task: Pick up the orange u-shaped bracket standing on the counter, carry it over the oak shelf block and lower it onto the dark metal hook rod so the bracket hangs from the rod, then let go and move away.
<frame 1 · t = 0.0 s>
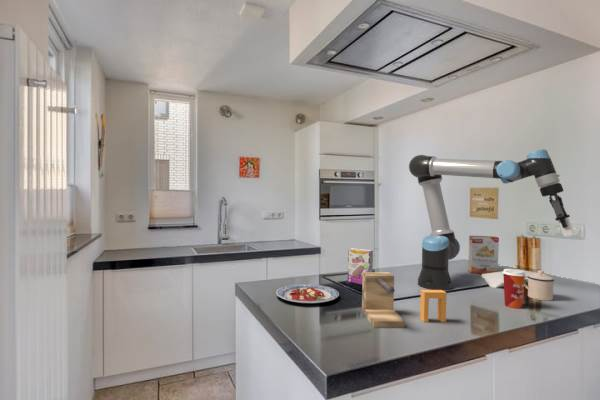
hand: (569, 234, 134), 28 cm above the table, tool tilted 20°, fingers open, 13 cm apart
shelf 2: (511, 285, 162), on the table
candy bar box: (359, 283, 159), on the table
paper cup: (513, 306, 128), on the table
orange u-shaped bracket: (432, 320, 111), on the table
cracker box: (482, 273, 186), on the table
shelf: (381, 318, 113), on the table
teacup with lid: (536, 297, 141), on the table
ceramic plate: (307, 298, 136), on the table
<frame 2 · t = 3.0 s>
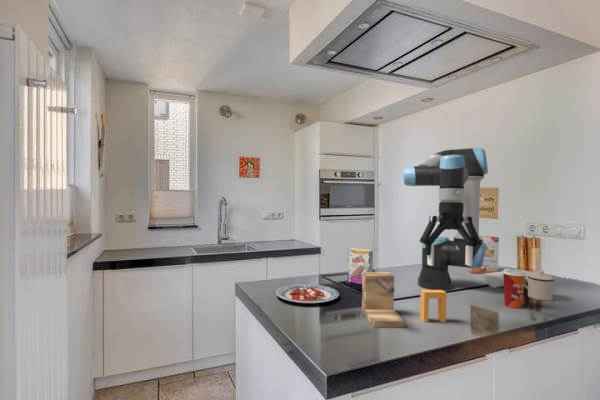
hand: (449, 265, 110), 19 cm above the table, tool pointing down, fingers open, 13 cm apart
nothing on the table moved.
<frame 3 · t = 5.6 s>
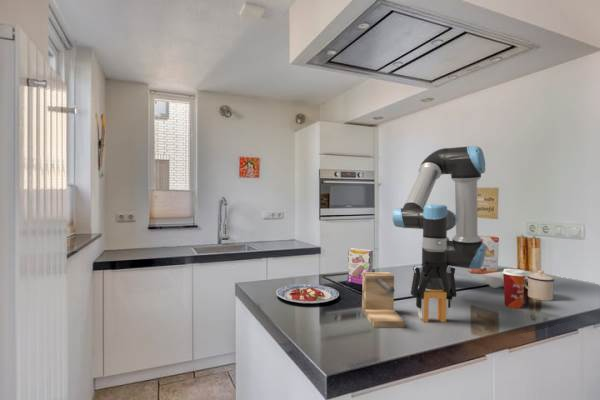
hand: (433, 317, 111), 1 cm above the table, tool pointing down, fingers closed on orange u-shaped bracket, 7 cm apart
orange u-shaped bracket: (432, 320, 111), on the table, touching gripper
everything else where it was.
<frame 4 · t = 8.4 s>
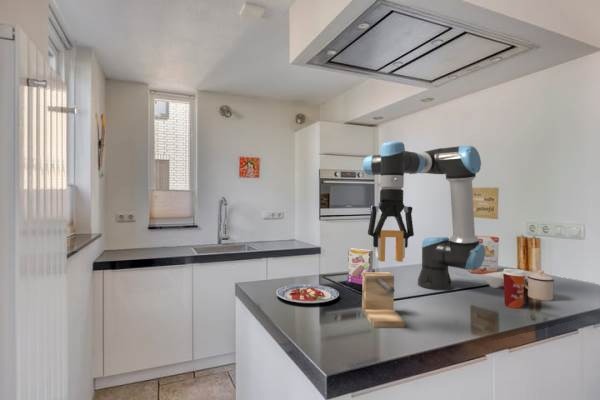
hand: (390, 257, 109), 22 cm above the table, tool pointing down, fingers closed on orange u-shaped bracket, 7 cm apart
orange u-shaped bracket: (390, 260, 109), point 20 cm above the table, touching gripper
everything else where it was.
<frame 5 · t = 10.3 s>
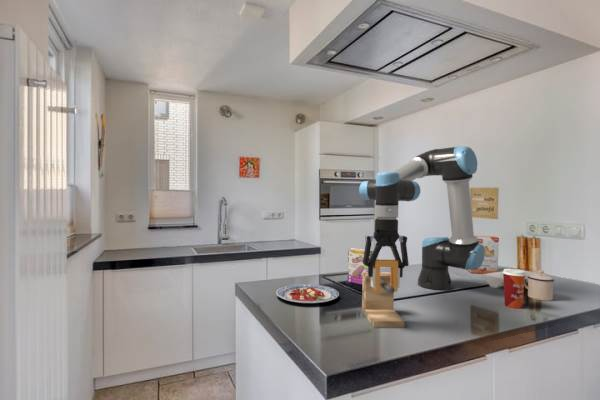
hand: (384, 286, 110), 12 cm above the table, tool pointing down, fingers closed on orange u-shaped bracket, 7 cm apart
orange u-shaped bracket: (384, 290, 109), point 11 cm above the table, touching gripper
everything else where it was.
when the fingers open (8 cm above the table, at t = 11.5 s): orange u-shaped bracket drops 1 cm, resting on shelf.
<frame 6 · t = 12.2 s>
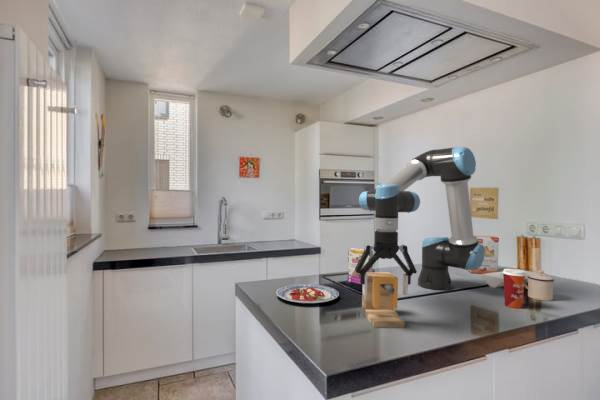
hand: (385, 294, 110), 9 cm above the table, tool pointing down, fingers open, 13 cm apart
orange u-shaped bracket: (384, 306, 110), point 5 cm above the table, touching shelf
everything else where it was.
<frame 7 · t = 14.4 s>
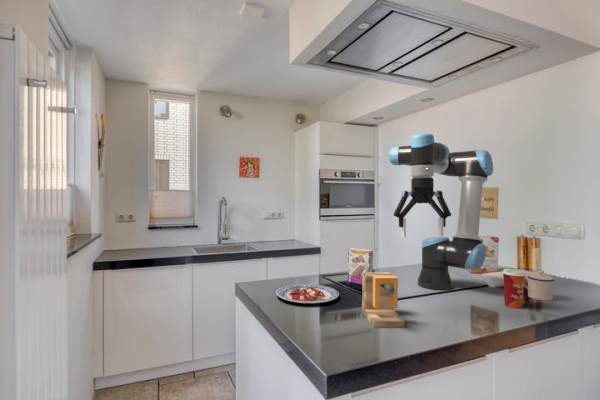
hand: (422, 236, 119), 28 cm above the table, tool pointing down, fingers open, 13 cm apart
nothing on the table moved.
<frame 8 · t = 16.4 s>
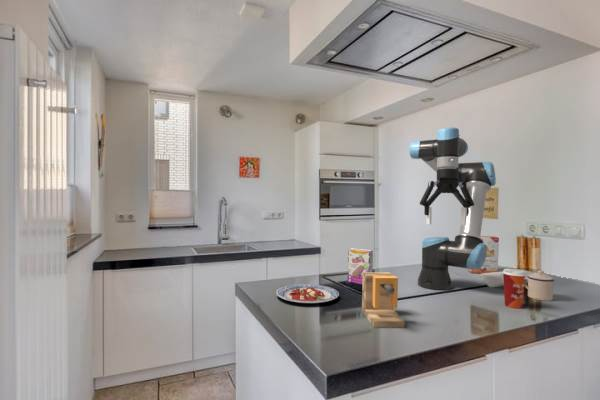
hand: (446, 224, 126), 32 cm above the table, tool pointing down, fingers open, 13 cm apart
nothing on the table moved.
at the end: orange u-shaped bracket inside the target area on the shelf (0.4 cm from its centre), point 5.0 cm above the shelf's base; orange u-shaped bracket touching shelf; the gripper is holding nothing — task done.
